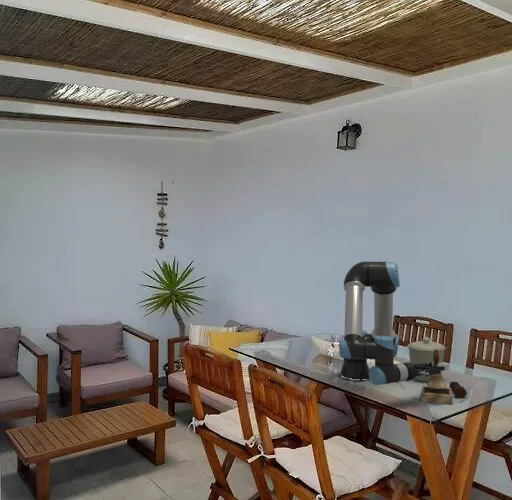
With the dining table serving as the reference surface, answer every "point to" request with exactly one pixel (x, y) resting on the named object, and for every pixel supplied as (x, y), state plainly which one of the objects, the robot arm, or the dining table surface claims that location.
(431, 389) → the square tray
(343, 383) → the dining table surface
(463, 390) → the bolt
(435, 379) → the hand bell
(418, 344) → the canister
